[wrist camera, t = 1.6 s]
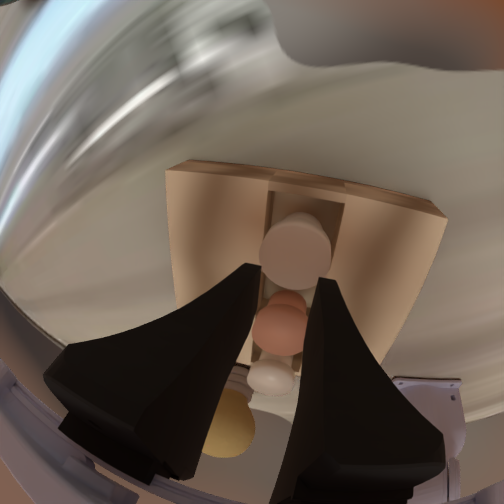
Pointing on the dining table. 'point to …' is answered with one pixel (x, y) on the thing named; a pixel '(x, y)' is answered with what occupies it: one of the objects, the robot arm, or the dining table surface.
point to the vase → (6, 2)
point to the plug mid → (281, 324)
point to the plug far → (272, 374)
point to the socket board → (333, 223)
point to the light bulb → (232, 418)
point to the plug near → (296, 252)
